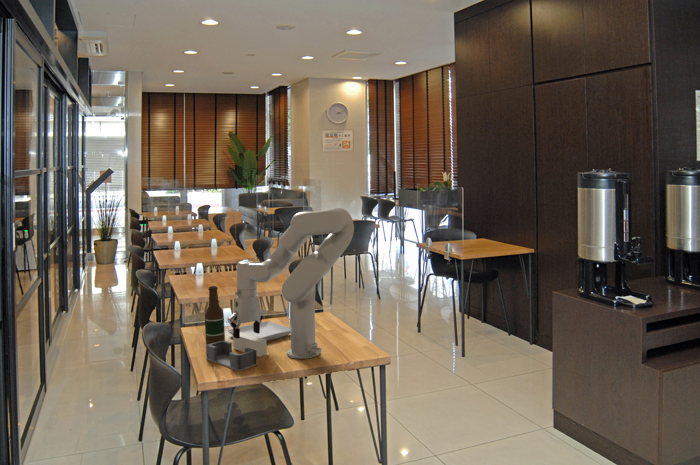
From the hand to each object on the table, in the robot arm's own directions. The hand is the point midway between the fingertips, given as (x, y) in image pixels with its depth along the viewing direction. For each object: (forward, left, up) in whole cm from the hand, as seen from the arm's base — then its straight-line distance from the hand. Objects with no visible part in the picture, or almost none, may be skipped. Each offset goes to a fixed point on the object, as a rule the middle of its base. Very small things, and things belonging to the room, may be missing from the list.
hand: (246, 335), depth 218 cm
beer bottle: (+18, +2, -7) cm, 19 cm away
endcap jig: (-6, +12, -6) cm, 15 cm away
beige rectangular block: (-1, -1, -7) cm, 7 cm away
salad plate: (+12, -17, -7) cm, 22 cm away
